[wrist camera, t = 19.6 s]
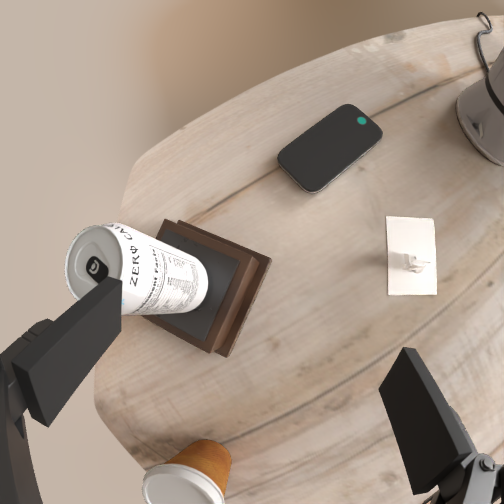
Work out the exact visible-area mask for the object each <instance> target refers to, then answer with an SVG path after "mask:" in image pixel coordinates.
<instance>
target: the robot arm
mask: <svg viewBox="0 0 504 504" xmlns="http://www.w3.org/2000/svg"><path fill="white" fill-rule="evenodd" d="M481 14H482V15H484V16H485V18H486V19H487V21H488V23H489V25H490V30H484V31H480V32H479V33H478V35H477V44H478V48H479V52H480V55H481V58H482V61H483V63H484V65H485V68H486V70H487V75H486V76H485V78H483V79H481V80H479V81H478V82H476V83H474V84H473V85H471V86H469V87H467V88H466V89H465V90H464V91H463V92H462V93H461V95H460V96H459V98H458V100H457V103H456V112H457V117H458V120H459V123H460V125H461V127H462V129H463V131H464V133H465V134H466V136H467V137H468V139H469V140H470V142H471V143H472V144H473V145H474V147H475V148H476V149H477V150H478V151H479V152H480V153H481V154H482V155H484V156H485V157H486V158H487V159H489V160H490V161H492V162H494V163H496V164H498V165H500V166H504V48H503V49H502V51H501V53H500V54H499V56H498V58H497V59H496V61H495V62H494V64H493V66H492V67H491V69H490V70H489V68H488V65H487V63H486V61H485V58H484V56H483V52H482V49H481V45H480V36H481V34H483V33H490V32H492V30H493V28H492V24H491V22H490V20H489V19H488V17H487V16H486V15H485V14H484V13H482V12H479V13H478V14H477V16H476V17H479V16H480V15H481ZM122 285H123V281H122V280H118V279H115V278H112V277H109V276H108V277H106V278H105V279H104V280H103V281H101V282H100V283H99V284H98V285H97V286H95V287H94V288H93V289H92V290H90V291H89V292H88V293H87V294H86V295H84V296H83V297H82V298H81V299H80V300H78V301H77V302H76V303H75V304H74V305H72V306H71V307H70V308H69V309H68V310H67V311H65V313H63V314H62V315H61V316H60V317H58V318H57V319H56V320H55V321H52V320H50V319H45V320H42V321H40V322H38V323H36V324H35V325H33V326H32V327H31V328H30V329H29V330H28V332H27V331H26V332H25V333H24V334H23V335H22V336H21V337H20V338H18V339H17V340H16V341H15V342H14V343H12V344H11V345H10V346H9V347H8V348H7V349H6V350H5V351H3V352H2V353H1V354H0V504H43V502H42V499H41V496H40V492H39V489H38V486H37V481H36V478H35V473H34V469H33V465H32V460H31V456H30V451H29V445H28V439H27V433H26V427H25V419H24V416H23V413H24V411H25V410H26V409H27V408H28V410H29V412H30V414H31V417H32V418H33V419H35V420H36V421H38V422H40V423H41V424H43V425H44V426H46V427H49V426H50V425H51V423H52V422H53V420H54V419H55V418H56V416H57V415H58V413H59V412H60V411H61V409H62V408H63V406H64V405H65V403H66V402H67V401H68V400H69V398H70V397H71V395H72V394H73V393H74V391H75V390H76V389H77V387H78V386H79V385H80V383H81V382H82V381H83V379H84V378H85V377H86V376H87V374H88V373H89V372H90V370H91V369H92V367H93V366H94V365H95V364H96V362H97V361H98V360H99V359H100V357H101V356H102V355H103V353H104V352H105V351H106V350H107V348H108V347H109V346H110V345H111V343H112V342H113V341H114V340H115V338H116V337H117V336H118V335H119V333H120V332H121V310H122ZM379 392H380V395H381V397H382V400H383V403H384V406H385V408H386V411H387V414H388V417H389V420H390V423H391V426H392V428H393V431H394V434H395V437H396V440H397V443H398V446H399V449H400V452H401V456H402V459H403V462H404V465H405V468H406V472H407V475H408V478H409V482H410V485H411V489H412V492H413V495H417V494H422V493H427V492H429V491H430V490H431V489H433V488H434V487H435V486H436V485H437V484H438V487H439V490H438V491H437V492H435V493H434V494H433V495H432V496H430V497H429V498H428V499H426V500H425V501H424V502H423V504H426V503H428V502H429V501H430V500H431V503H430V504H493V503H494V502H495V501H497V500H498V499H499V498H500V497H501V503H500V504H504V465H497V464H495V461H494V460H493V459H492V458H491V457H490V456H489V455H487V454H484V453H483V454H478V452H477V450H476V448H475V446H474V444H473V442H472V440H471V438H470V436H469V434H468V432H467V430H466V431H465V429H466V428H465V427H464V425H463V424H462V421H461V419H460V417H459V416H458V414H457V413H456V412H455V411H454V410H453V408H452V407H451V406H449V405H448V403H447V401H446V400H445V398H444V396H443V394H442V393H441V391H440V389H439V387H438V386H437V384H436V382H435V380H434V379H433V377H432V375H431V374H430V372H429V370H428V369H427V367H426V365H425V364H424V362H423V360H422V359H421V357H420V356H419V354H418V352H417V351H416V349H414V348H407V347H403V348H402V350H401V352H400V353H399V355H398V357H397V359H396V361H395V362H394V364H393V366H392V367H391V369H390V371H389V373H388V374H387V376H386V378H385V379H384V381H383V382H382V384H381V386H380V387H379Z"/></svg>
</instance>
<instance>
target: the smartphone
mask: <svg viewBox="0 0 504 504" xmlns="http://www.w3.org/2000/svg"><path fill="white" fill-rule="evenodd" d="M382 135H383V132H382V130H381V129H380V127H379V126H378V125H377V124H376V123H374V122H373V121H372V120H371V119H370V118H369V117H368V116H366V115H365V114H364V113H363V112H362V111H361V110H359V109H358V108H357V107H355V106H354V105H351V104H345V105H342V106H340V107H339V108H337V109H336V110H335V111H333V112H332V113H330V114H329V115H328V116H326V117H325V118H323V119H322V120H321V121H319V122H318V123H317V124H315V125H314V126H312V127H311V128H310V129H308V130H307V131H306V132H304V133H303V134H302V135H300V136H299V137H298V138H296V139H295V140H294V141H292V142H291V143H290V144H288V145H287V146H286V147H285V148H283V149H282V150H281V151H280V153H279V154H278V157H277V160H278V163H279V165H280V166H281V167H282V169H283V170H284V171H285V172H286V173H287V174H288V175H289V176H290V177H291V178H292V179H293V180H294V181H295V182H296V183H297V184H298V185H299V186H300V187H301V188H302V189H303V190H305V191H306V192H308V193H316V192H319V191H321V190H322V189H323V188H325V187H326V186H327V185H328V184H329V183H330V182H332V181H333V180H334V179H335V178H336V177H338V176H339V175H340V174H341V173H342V172H344V171H345V170H346V169H347V168H348V167H350V166H351V165H352V164H353V163H354V162H356V161H357V160H358V159H359V158H360V157H362V156H363V155H364V154H365V153H366V152H368V151H369V150H370V149H371V148H372V147H374V146H375V145H376V144H377V143H378V142H379V141H380V140H381V138H382Z"/></svg>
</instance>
